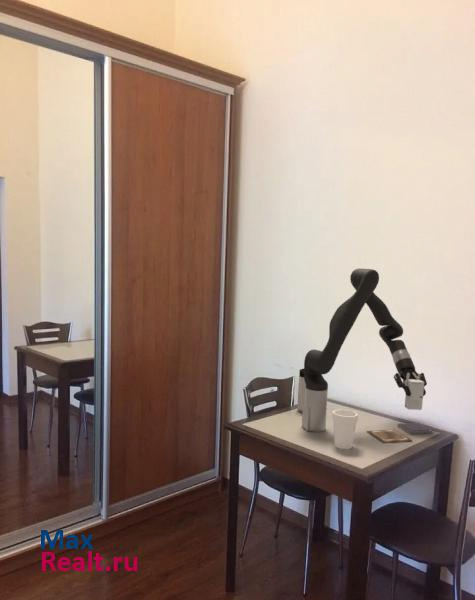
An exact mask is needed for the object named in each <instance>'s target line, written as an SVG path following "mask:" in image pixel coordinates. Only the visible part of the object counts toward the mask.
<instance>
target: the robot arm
mask: <svg viewBox="0 0 475 600" xmlns="http://www.w3.org/2000/svg"><path fill="white" fill-rule="evenodd" d="M349 277H350V278H349V279H350V284H351V285H352V287H353V288H354V290H355V292H354V293H353V294H352V295H351V297H349V298H348V299H347V300H344V302H342V304H340V305H339V306H338V307H337V309H336V310H335V312H334V314H333V315H332V317H331V319H330V321H329V333H328V335H329V336H328V340H327V343H326V345H325V346H324V348H323V349H322V350H318V349H311V350H308V352H307V353H306V354H305V357H304V361H303V369H304V380H305V383H306V391H305V404H304V405H303V413H302V417H301V418H302V419H301V427H302V428H303V429H305V431H307V432H315V433H316V432H319V433H321V432H324V431H325V430H326V428H327V427H326V425H327V409H328V408H327V406H328V390H329V383H328V381H327V380H326V379H325V378H324V376H323V375H326V374H328V373H329V372H330V371H331V370H332V369H333V367H334V366H335V363H336V361H337V358H338V356H339V353H340V351H341V349H342V347H343V344H344V343H345V340H346V339H347V337H348V335H349V333H350V332H351V330H352V328H353V326H354V324H355V322H356V321H357V318H358V316H359V315H360V313H361V311H362V310H363V308H364V307H365V305H367V307H368V309H369V310H370V312H371V313H372V315H373V317H374V320H375V321H376V322H377V324H378V325H379V326H380V328H379V330H378V334H379V337H380V338H381V339H382V341H383V342H384V343H385V344H386V346H387V347H388V349H389V352H390V354H391V356H392V361H393V364H394V365H395V368H396V371H397V372H396V373H395V374H394V375H393V379H394V381H395V383H396V385H397V387H398V388H402V389H403V391H404V393H405V396H406V395H407V396H410V395H411V392H410V389H409V387H407V386H408V380H409V379H414V380H421V381H423V382H424V391H423V397H424V396H425V395H427V394H426V393H427V392H426V388H425V387H426V386H427V384H428V382H427V380H426V377H425V373H424V372H421V373H418V372H417V371H416V366H415V364H414V362H413V360H412V357H411V355H410V352H409V351H408V348H407V347H406V344H405V342H404V341H403V340H401V339H398V338H401V337H403V335H404V328H403V327H402V325H401V324H400V323H399V322H398V321H397V320H396V319H395V318H394V317H393V316H392V314H391V311H390V310H389V308H388V306H387V305H386V303H385V302H384V301H383V299H381V298H380V297H379V296H377V294H376V293H375V292H374V291H375V290H376V289H377V286H378V285H379V281H380V275H379V272H378V271H377V270H375V269H371V268H355V269H354V270H353V271H352V272H351V274H350V276H349ZM381 326H382V327H381Z"/></svg>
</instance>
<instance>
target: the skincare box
mask: <svg viewBox="0 0 475 600" xmlns="http://www.w3.org/2000/svg"><path fill="white" fill-rule="evenodd" d="M407 387H409V389H410V392H411V395H410V396H407V395H406V394H405V399H404V408H406V409H407V410H412V411H413V410H416V411H417V410H418V411H420V410H422V409H423V400H424V396H423V391H424V389H425V387H424V382H423V381H421V380H414V379H409V380H408V386H407Z"/></svg>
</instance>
